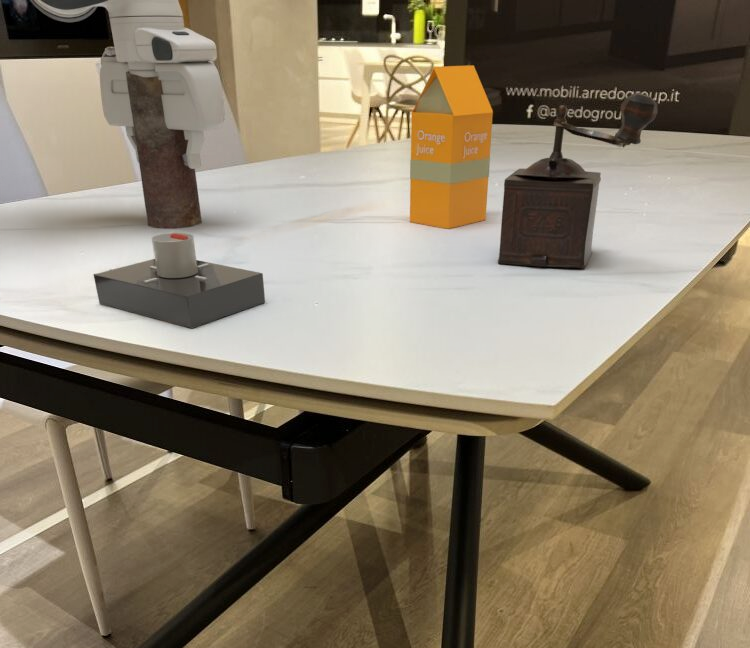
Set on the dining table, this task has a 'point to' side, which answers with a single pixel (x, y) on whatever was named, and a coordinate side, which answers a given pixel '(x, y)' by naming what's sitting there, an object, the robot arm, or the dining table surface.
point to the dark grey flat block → (181, 292)
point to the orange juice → (450, 149)
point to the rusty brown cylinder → (161, 159)
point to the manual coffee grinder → (561, 196)
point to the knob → (175, 255)
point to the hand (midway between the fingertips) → (169, 165)
